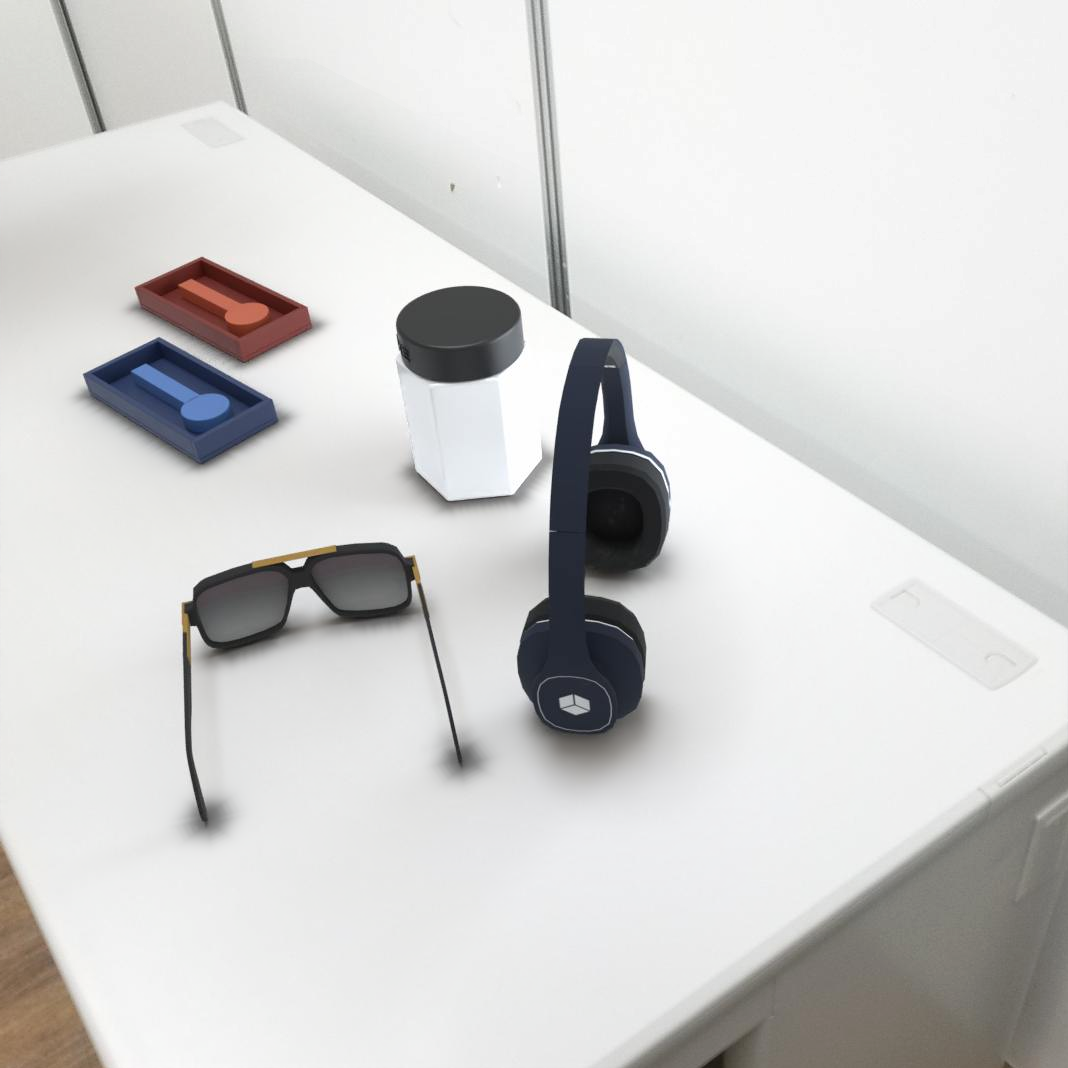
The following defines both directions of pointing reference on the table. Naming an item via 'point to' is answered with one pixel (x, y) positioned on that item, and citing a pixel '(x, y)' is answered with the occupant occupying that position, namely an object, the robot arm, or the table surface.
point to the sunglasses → (266, 595)
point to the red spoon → (227, 308)
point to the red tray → (170, 306)
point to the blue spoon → (185, 400)
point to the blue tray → (166, 421)
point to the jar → (468, 391)
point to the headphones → (594, 551)
